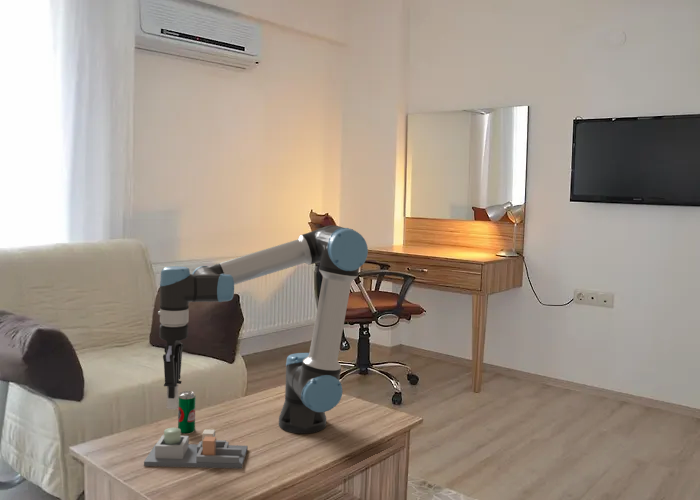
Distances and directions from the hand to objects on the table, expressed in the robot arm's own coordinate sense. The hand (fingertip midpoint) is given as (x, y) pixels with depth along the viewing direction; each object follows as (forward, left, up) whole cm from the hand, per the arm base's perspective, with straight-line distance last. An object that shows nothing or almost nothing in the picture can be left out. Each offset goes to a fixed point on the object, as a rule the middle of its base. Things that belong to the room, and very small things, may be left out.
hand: (172, 408), depth 175 cm
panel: (-7, 0, -14) cm, 16 cm away
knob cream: (-10, -3, -13) cm, 16 cm away
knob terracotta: (-11, +2, -12) cm, 17 cm away
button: (0, 0, -9) cm, 9 cm away
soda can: (0, -18, -14) cm, 23 cm away
